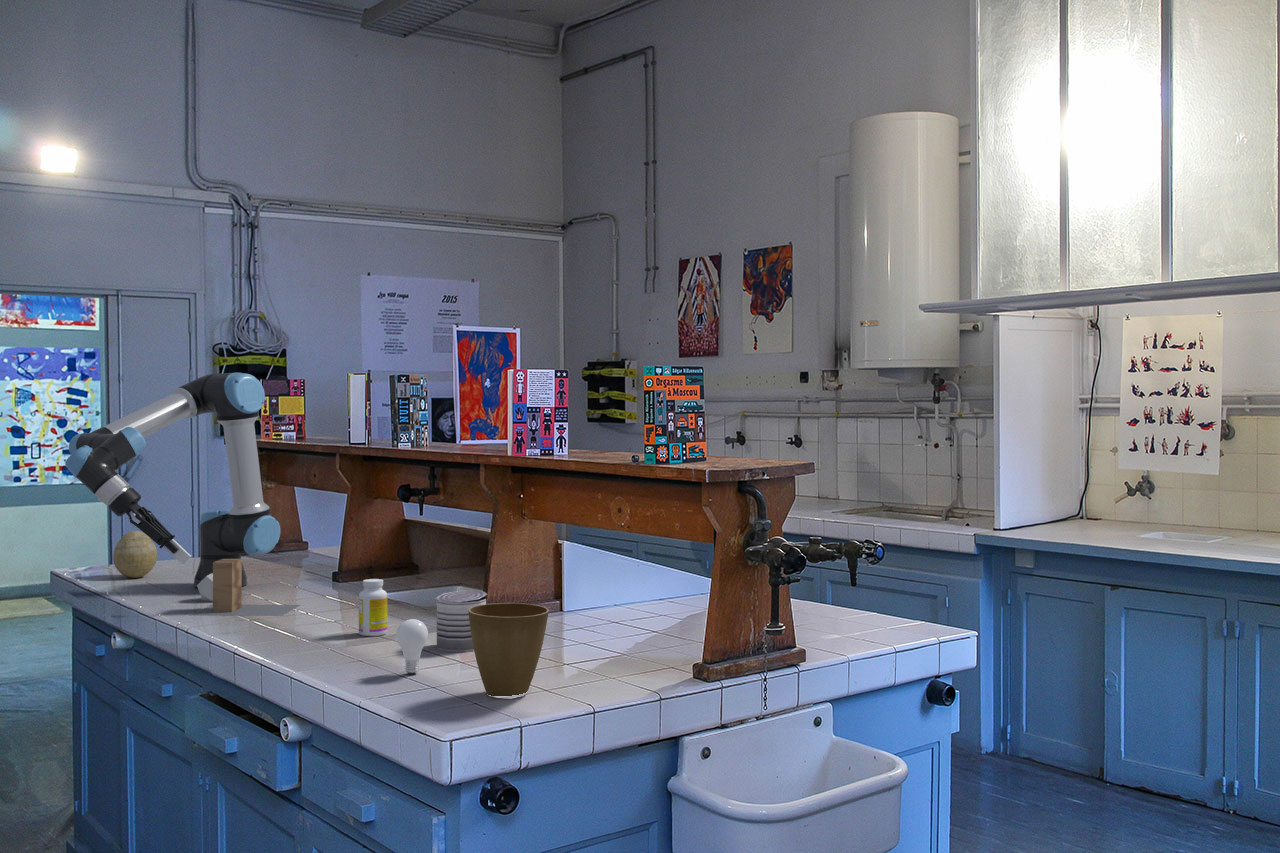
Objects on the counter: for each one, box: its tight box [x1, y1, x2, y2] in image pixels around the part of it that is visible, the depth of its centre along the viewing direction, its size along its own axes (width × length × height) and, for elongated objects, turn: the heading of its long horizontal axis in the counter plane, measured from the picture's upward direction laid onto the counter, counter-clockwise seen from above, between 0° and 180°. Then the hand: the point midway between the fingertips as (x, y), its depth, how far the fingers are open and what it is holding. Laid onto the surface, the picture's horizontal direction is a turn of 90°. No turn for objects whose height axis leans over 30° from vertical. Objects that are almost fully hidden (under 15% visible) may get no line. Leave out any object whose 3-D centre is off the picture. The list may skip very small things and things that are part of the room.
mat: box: [189, 604, 301, 617], centre depth 285 cm, size 16×24×1 cm, turn 91°
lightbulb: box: [395, 618, 429, 675], centre depth 217 cm, size 6×6×11 cm
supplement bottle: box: [358, 578, 388, 637], centre depth 257 cm, size 7×7×13 cm
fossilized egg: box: [112, 530, 158, 579], centre depth 344 cm, size 13×13×15 cm
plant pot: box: [468, 602, 550, 696], centre depth 201 cm, size 15×15×16 cm
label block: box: [212, 558, 243, 612], centre depth 285 cm, size 7×5×13 cm
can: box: [434, 589, 489, 653], centre depth 243 cm, size 11×11×12 cm
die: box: [197, 573, 213, 603], centre depth 300 cm, size 8×9×10 cm
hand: (186, 560), depth 282 cm, fingers closed
